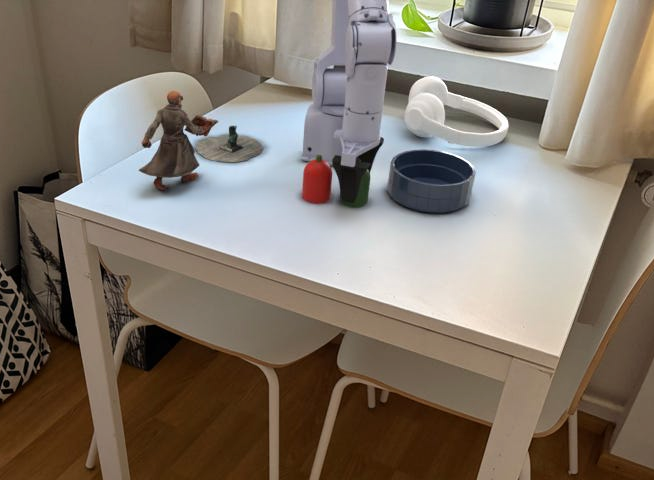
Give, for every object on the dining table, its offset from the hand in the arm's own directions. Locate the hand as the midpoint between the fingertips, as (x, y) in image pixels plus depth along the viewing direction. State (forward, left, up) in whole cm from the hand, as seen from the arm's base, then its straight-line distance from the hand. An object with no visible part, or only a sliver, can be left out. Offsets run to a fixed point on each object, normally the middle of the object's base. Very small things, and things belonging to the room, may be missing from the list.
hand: (354, 191), depth 120 cm
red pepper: (-6, -1, -2) cm, 6 cm away
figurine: (-28, -6, -2) cm, 29 cm away
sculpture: (-26, +11, -2) cm, 28 cm away
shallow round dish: (+11, +7, -2) cm, 13 cm away
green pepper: (0, 0, -2) cm, 2 cm away
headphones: (+11, +37, -2) cm, 39 cm away
